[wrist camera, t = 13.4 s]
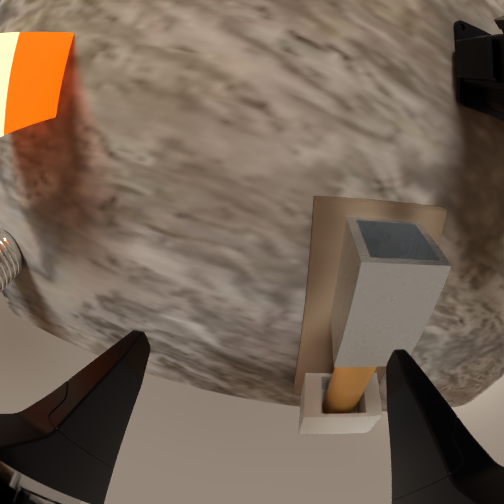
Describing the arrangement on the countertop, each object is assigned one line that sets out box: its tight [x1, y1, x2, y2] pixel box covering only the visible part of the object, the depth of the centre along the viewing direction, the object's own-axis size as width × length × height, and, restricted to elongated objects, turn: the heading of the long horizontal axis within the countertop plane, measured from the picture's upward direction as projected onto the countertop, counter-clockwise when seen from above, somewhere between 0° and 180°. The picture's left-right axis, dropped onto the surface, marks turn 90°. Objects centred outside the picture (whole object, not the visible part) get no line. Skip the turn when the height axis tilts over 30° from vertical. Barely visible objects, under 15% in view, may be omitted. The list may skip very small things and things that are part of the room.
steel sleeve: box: [330, 216, 451, 367], centre depth 18 cm, size 6×9×5 cm, turn 2°
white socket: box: [299, 373, 382, 434], centre depth 26 cm, size 8×5×5 cm, turn 92°
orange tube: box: [322, 367, 377, 414], centre depth 23 cm, size 4×13×4 cm, turn 2°
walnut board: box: [293, 196, 447, 394], centre depth 24 cm, size 10×24×1 cm, turn 2°
